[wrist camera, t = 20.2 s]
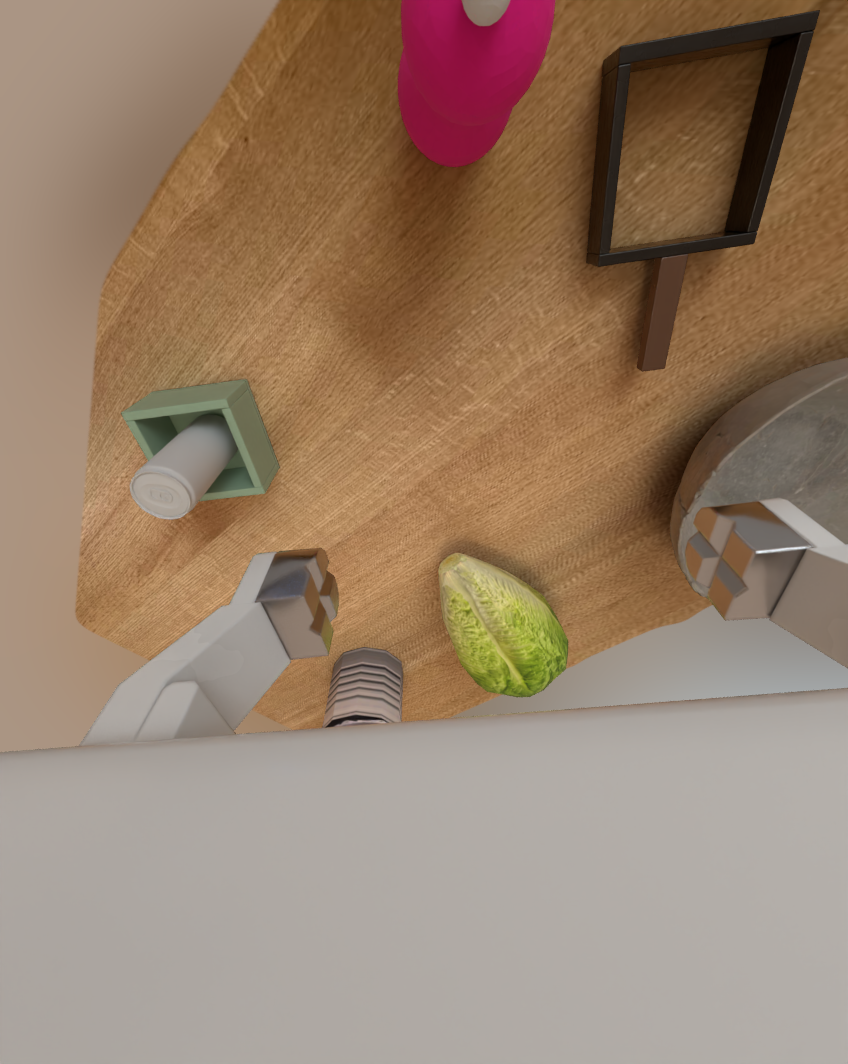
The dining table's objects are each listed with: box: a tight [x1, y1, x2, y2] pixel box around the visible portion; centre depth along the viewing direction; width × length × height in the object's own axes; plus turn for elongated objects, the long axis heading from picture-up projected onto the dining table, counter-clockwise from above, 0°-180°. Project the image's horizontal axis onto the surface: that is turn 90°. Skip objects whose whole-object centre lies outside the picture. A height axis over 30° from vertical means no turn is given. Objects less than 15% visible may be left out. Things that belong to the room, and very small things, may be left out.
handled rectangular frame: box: [586, 10, 820, 371], centre depth 33 cm, size 20×12×3 cm, turn 7°
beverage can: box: [130, 414, 238, 520], centre depth 39 cm, size 5×5×12 cm
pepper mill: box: [398, 0, 555, 167], centre depth 21 cm, size 7×7×20 cm
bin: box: [121, 379, 279, 501], centre depth 42 cm, size 10×10×6 cm
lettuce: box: [438, 552, 568, 697], centre depth 54 cm, size 13×22×14 cm
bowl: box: [670, 358, 848, 599], centre depth 42 cm, size 28×28×10 cm
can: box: [322, 647, 403, 728], centre depth 64 cm, size 11×11×12 cm
